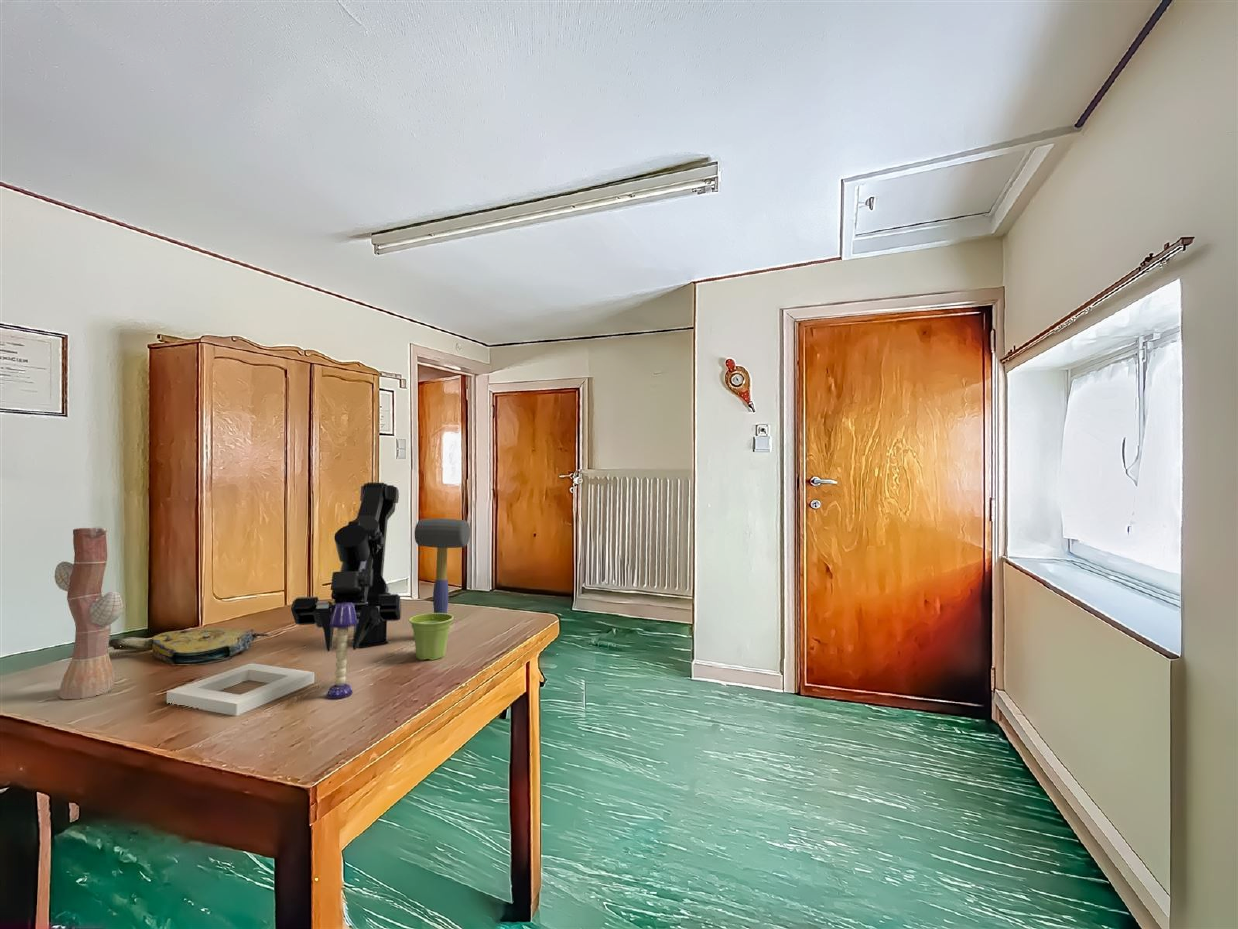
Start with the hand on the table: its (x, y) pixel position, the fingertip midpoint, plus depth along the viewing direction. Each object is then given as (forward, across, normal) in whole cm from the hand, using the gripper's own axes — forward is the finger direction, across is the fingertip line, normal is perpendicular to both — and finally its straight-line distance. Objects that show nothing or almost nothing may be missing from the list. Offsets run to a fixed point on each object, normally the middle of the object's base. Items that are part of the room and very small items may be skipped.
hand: (341, 649), depth 101 cm
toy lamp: (+5, 0, +7) cm, 9 cm away
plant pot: (-8, +15, +21) cm, 27 cm away
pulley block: (-17, -38, +30) cm, 51 cm away
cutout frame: (+2, -17, +10) cm, 20 cm away
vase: (-3, -45, +15) cm, 48 cm away
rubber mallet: (-19, +16, +31) cm, 40 cm away
